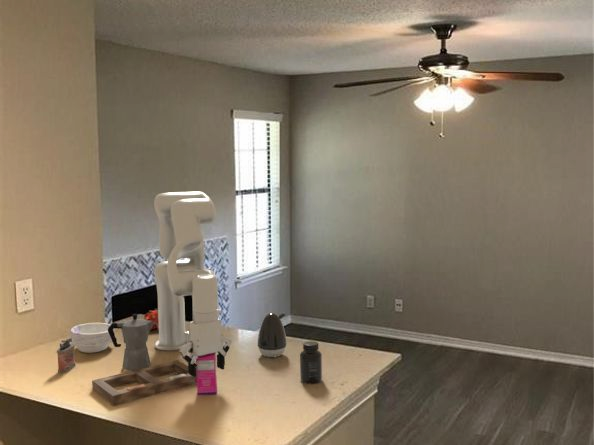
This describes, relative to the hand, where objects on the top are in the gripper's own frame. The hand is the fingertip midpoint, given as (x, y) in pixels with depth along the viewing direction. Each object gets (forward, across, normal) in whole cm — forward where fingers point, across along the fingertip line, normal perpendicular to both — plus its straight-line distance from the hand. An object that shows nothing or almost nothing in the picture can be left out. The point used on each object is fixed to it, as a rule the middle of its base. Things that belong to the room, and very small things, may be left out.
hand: (206, 371), depth 196 cm
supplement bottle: (+6, -30, +13) cm, 33 cm away
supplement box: (+6, 0, 0) cm, 6 cm away
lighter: (+6, +26, -46) cm, 53 cm away
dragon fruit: (+6, -18, -70) cm, 73 cm away
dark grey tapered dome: (+6, -35, -14) cm, 38 cm away
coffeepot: (+6, +8, -34) cm, 36 cm away
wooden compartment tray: (+6, +12, -15) cm, 20 cm away
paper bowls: (+6, +11, -61) cm, 62 cm away
